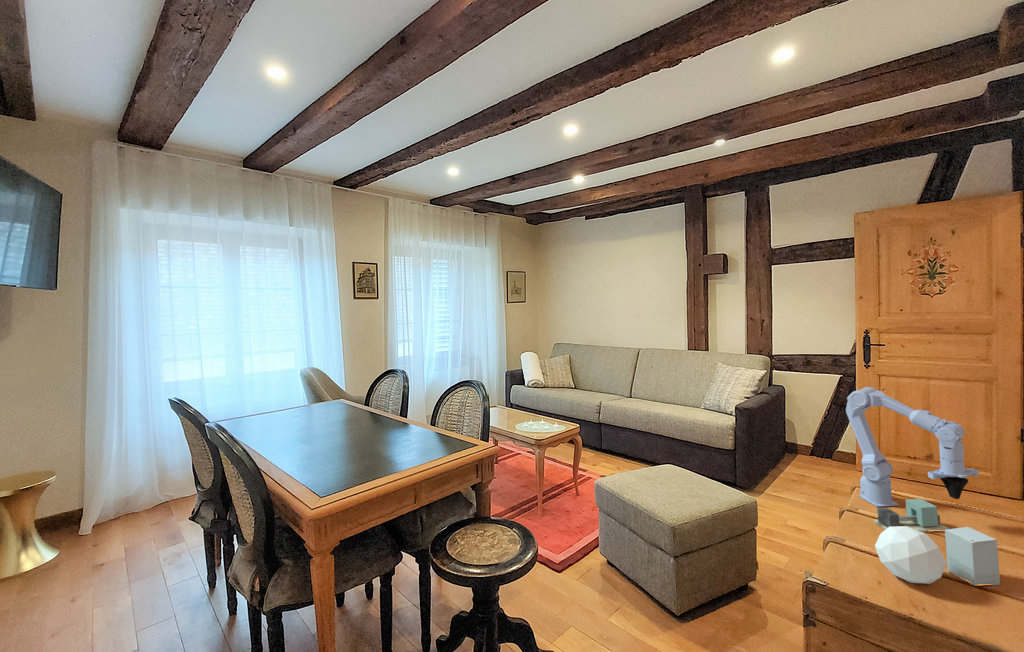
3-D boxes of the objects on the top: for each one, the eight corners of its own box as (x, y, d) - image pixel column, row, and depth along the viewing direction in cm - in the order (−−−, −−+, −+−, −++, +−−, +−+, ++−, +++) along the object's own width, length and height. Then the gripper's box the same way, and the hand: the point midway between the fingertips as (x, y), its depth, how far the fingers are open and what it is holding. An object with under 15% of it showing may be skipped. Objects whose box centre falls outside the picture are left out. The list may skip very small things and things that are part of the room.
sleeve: (906, 517, 147) (905, 499, 147) (921, 516, 147) (920, 498, 146) (922, 526, 141) (921, 507, 141) (938, 525, 141) (936, 506, 140)
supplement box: (1001, 585, 114) (998, 540, 114) (974, 588, 114) (971, 542, 114) (971, 568, 121) (968, 526, 121) (946, 571, 121) (943, 528, 121)
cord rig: (873, 522, 149) (872, 506, 149) (927, 519, 148) (925, 502, 147) (892, 534, 141) (891, 517, 141) (949, 531, 140) (948, 513, 139)
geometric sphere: (922, 591, 121) (957, 552, 119) (922, 601, 111) (961, 558, 108) (866, 550, 131) (897, 513, 129) (861, 555, 121) (895, 515, 118)
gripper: (940, 464, 139) (943, 504, 139) (987, 461, 138) (989, 501, 138) (921, 457, 146) (924, 495, 146) (965, 453, 145) (968, 492, 145)
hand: (954, 497), depth 143 cm, fingers closed
